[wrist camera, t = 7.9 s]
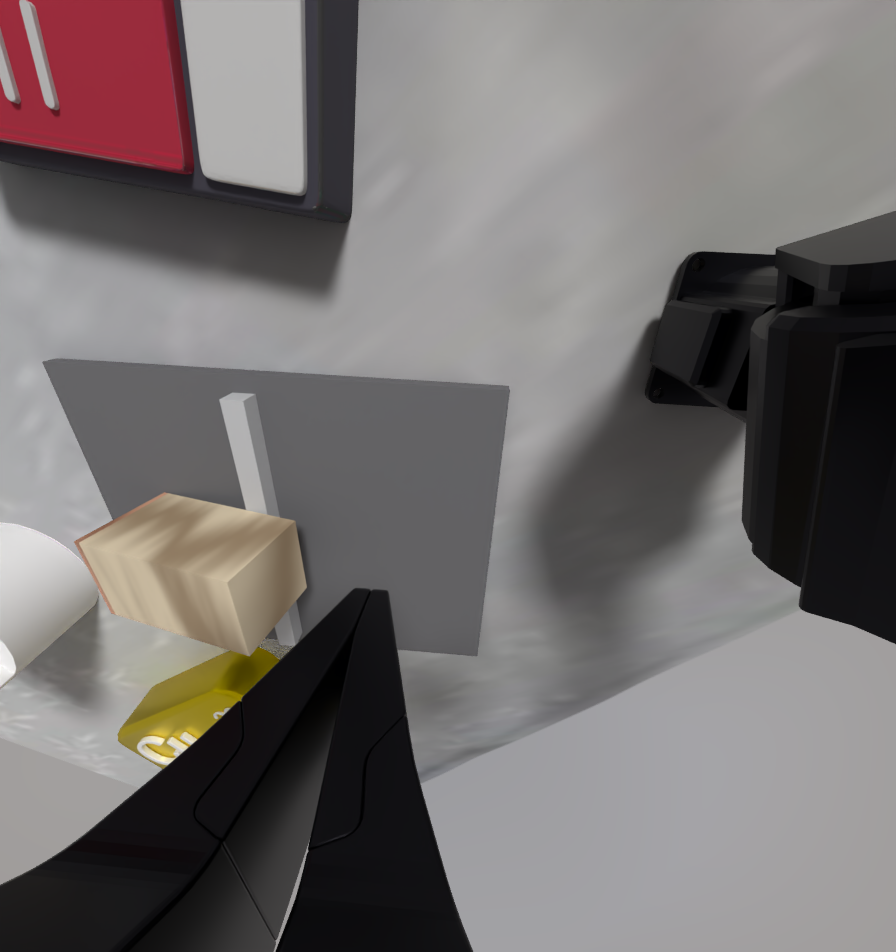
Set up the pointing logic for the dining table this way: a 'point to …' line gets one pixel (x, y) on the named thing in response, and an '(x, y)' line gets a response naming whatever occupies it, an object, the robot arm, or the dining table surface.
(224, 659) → the element tile
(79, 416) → the mat
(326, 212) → the calculator
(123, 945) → the robot arm
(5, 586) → the cylinder with rectangular tab
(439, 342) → the dining table surface
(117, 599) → the beech block
